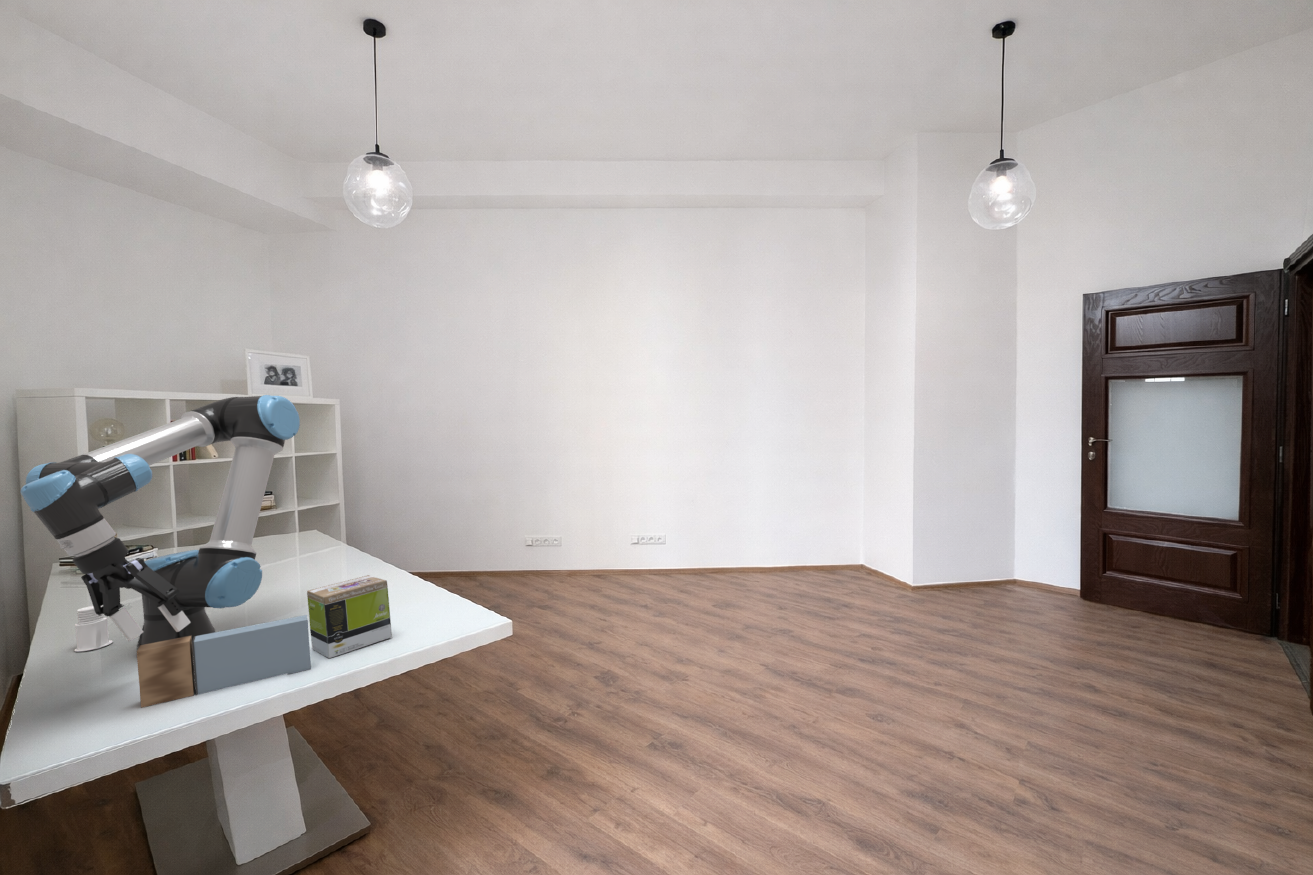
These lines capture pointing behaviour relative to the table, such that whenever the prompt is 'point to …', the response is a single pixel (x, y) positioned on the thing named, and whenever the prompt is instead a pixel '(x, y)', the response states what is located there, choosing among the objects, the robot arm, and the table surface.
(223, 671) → the blue-gray rectangular block
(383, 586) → the tea box
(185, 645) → the stub
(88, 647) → the downlight
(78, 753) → the table surface
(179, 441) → the robot arm
